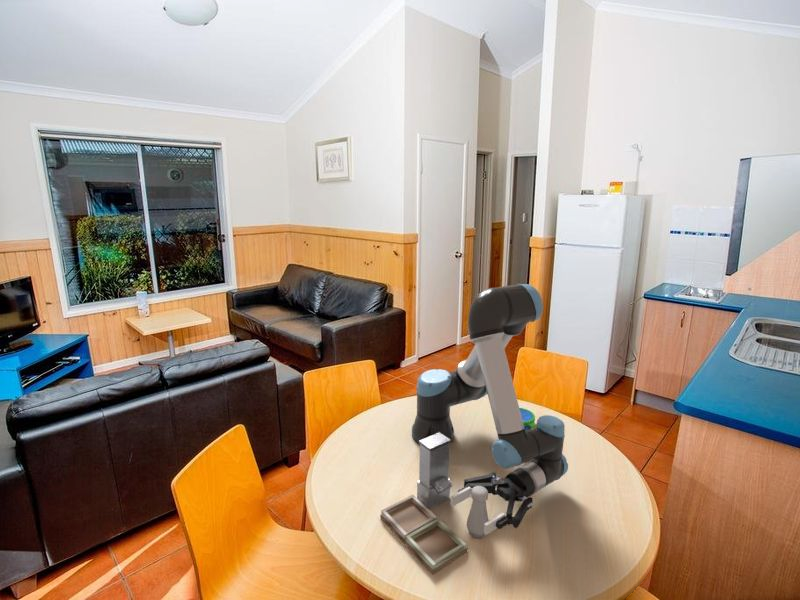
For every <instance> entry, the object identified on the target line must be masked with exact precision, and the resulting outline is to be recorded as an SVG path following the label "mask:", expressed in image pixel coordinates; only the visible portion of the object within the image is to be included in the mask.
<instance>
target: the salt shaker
mask: <svg viewBox="0 0 800 600" xmlns="http://www.w3.org/2000/svg"><path fill="white" fill-rule="evenodd" d="M471 489H472V490H471V497H470V498H471V499H472V502H471V504H470V505H471V506H470V509H469V513H468V515H467V519H466V528H467V530H468V533H469V534H470V535H471V537H472V538H474V539H479V540H481V539H483V538H484V537H485V536H486V535H485V534H484V524H485V523H486V522H488V521H489V516H488V508H487V501H488V499H489V493H488V491H487V489H486V488H484V487H482V486H475V487H473V488H471Z"/></svg>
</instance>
